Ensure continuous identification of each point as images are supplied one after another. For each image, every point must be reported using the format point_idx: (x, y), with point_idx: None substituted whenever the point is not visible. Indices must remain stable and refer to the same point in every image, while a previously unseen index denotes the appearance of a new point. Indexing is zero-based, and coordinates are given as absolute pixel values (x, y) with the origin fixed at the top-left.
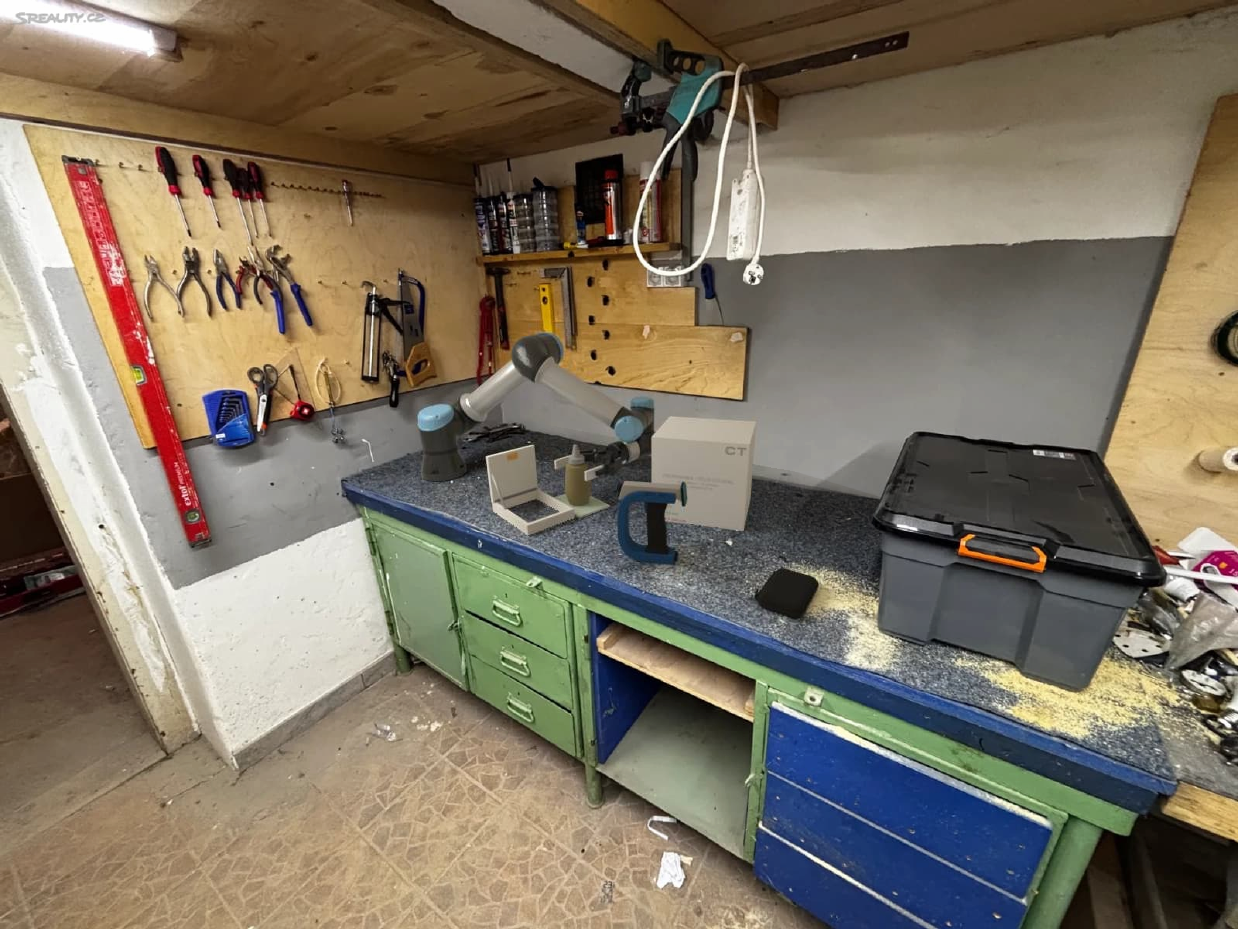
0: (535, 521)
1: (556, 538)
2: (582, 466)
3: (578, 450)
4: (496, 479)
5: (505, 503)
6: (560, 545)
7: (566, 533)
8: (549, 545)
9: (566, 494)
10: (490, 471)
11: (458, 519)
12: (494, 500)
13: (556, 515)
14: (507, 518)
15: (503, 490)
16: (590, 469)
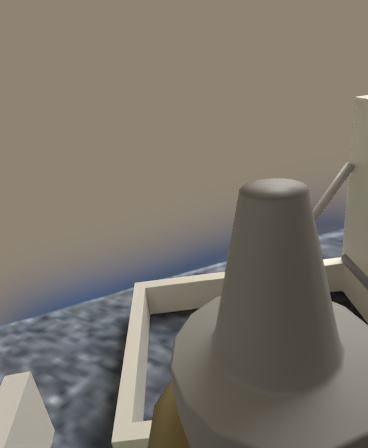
0: (138, 301)
1: (62, 355)
2: (163, 430)
3: (232, 277)
4: (359, 194)
5: (358, 292)
6: (23, 349)
7: (56, 389)
8: (52, 330)
9: None
10: (352, 154)
11: (326, 235)
12: (344, 253)
13: (124, 359)
14: None
15: (365, 248)
16: (1, 440)
